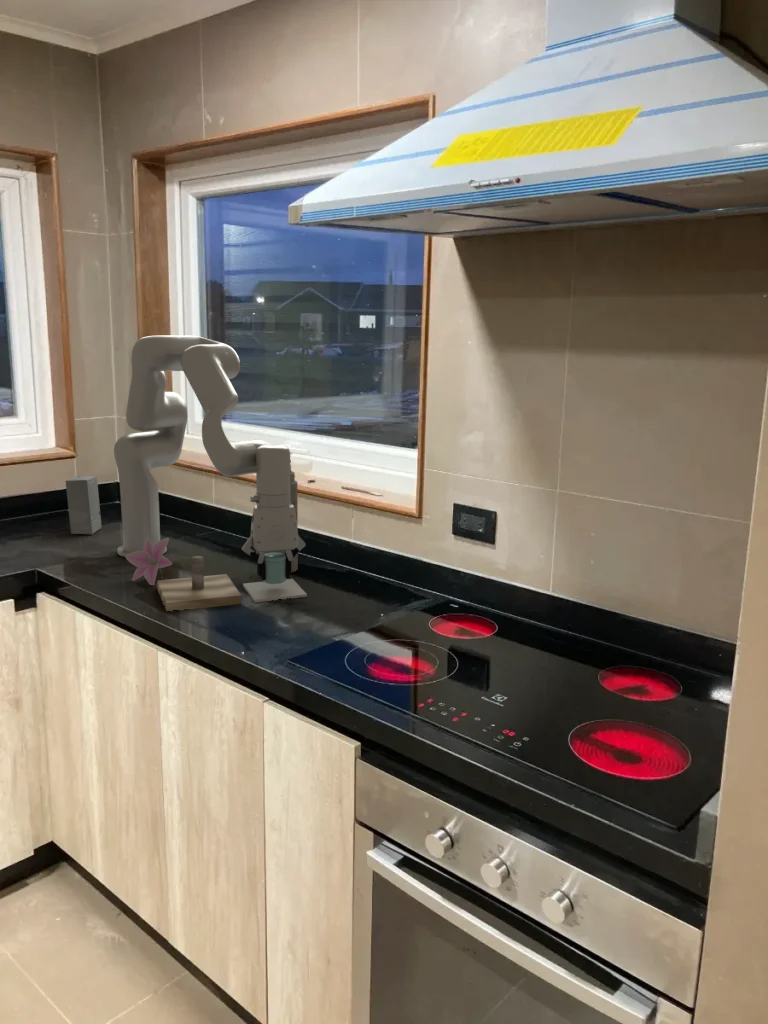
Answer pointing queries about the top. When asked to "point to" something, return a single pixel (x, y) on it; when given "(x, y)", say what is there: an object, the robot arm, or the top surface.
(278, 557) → the cap
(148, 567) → the lily
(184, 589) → the post block
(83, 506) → the skincare box
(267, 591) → the grey mat
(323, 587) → the top surface
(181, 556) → the top surface
